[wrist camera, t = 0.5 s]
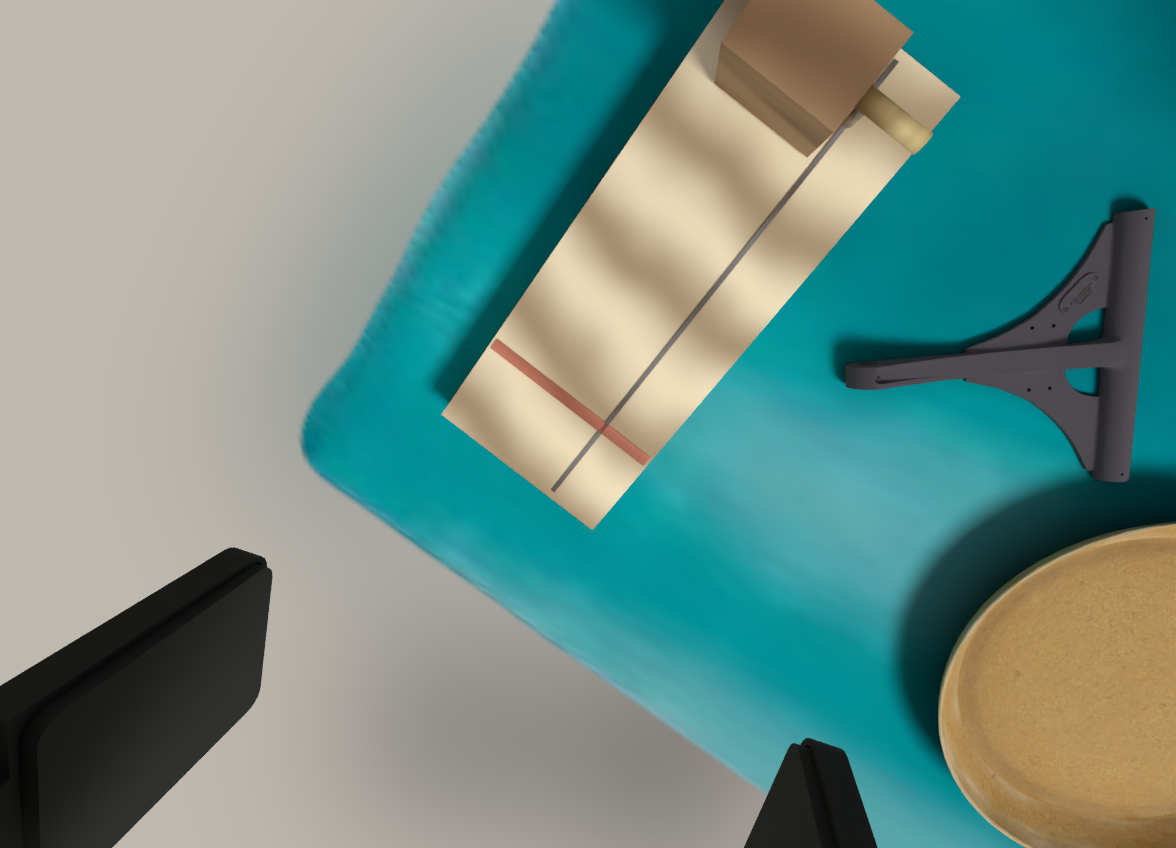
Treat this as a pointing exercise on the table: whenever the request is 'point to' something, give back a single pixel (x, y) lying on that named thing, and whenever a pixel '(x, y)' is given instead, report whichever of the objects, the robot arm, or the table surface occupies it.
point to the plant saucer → (1072, 697)
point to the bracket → (1062, 351)
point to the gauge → (815, 69)
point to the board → (671, 277)
